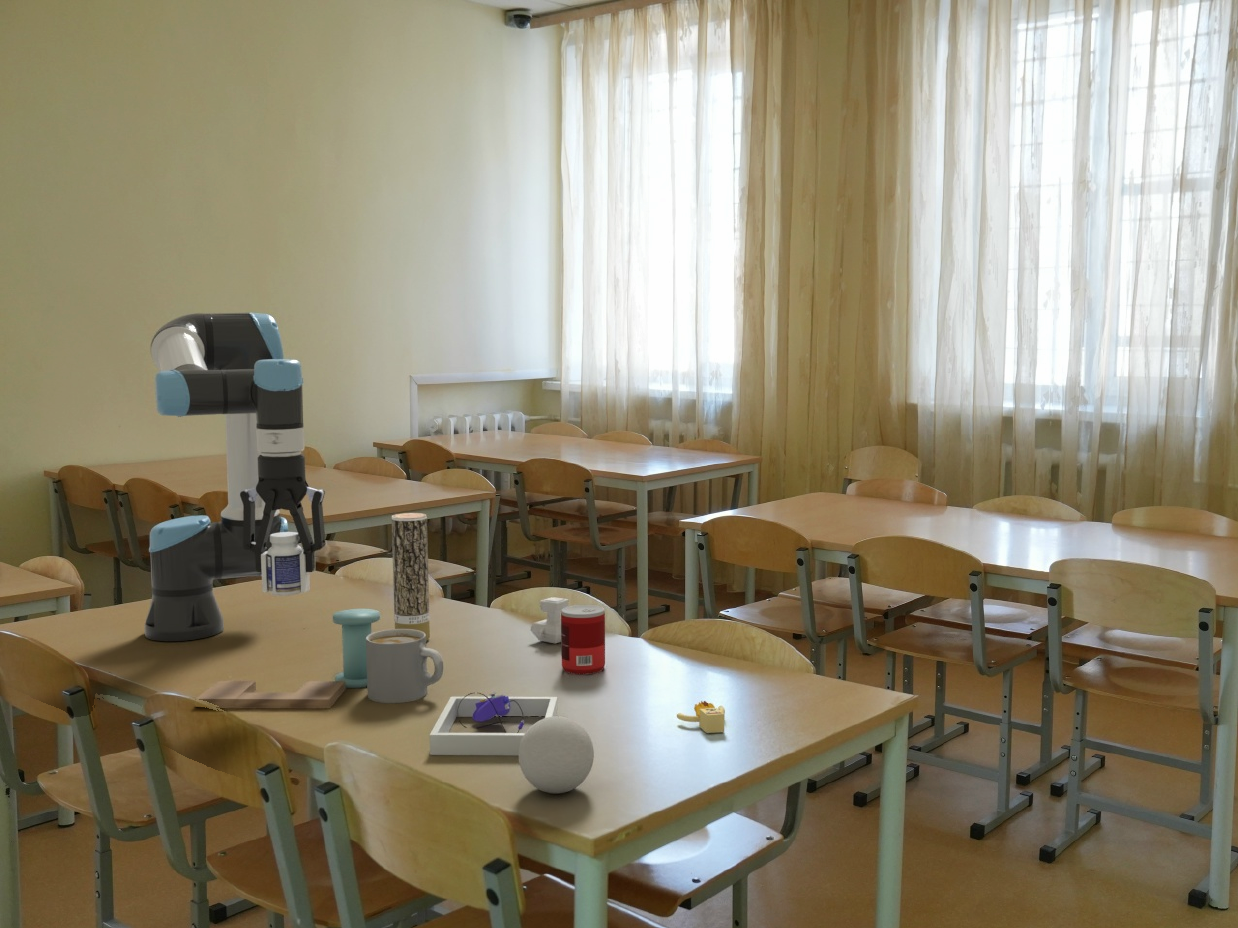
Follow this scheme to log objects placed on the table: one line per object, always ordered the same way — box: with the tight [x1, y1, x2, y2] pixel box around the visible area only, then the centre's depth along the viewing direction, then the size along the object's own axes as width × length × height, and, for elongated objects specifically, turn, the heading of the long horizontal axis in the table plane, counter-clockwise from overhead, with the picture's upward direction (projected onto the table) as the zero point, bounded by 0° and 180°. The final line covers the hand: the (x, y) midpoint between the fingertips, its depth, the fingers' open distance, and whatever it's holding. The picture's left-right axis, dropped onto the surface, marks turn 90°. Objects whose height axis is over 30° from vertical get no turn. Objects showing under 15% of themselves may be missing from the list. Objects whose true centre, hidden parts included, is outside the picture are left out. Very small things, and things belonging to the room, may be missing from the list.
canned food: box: [560, 604, 606, 675], centre depth 216 cm, size 8×8×11 cm
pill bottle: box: [267, 531, 304, 597], centre depth 199 cm, size 6×6×10 cm
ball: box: [518, 715, 595, 794], centre depth 159 cm, size 10×10×10 cm
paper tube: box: [391, 512, 431, 642], centre depth 235 cm, size 7×7×25 cm
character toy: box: [676, 700, 726, 734], centre depth 185 cm, size 8×3×8 cm
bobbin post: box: [332, 608, 381, 689], centre depth 209 cm, size 8×8×12 cm
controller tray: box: [429, 696, 559, 756], centre depth 182 cm, size 17×18×3 cm
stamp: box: [530, 596, 570, 644], centre depth 235 cm, size 9×7×8 cm
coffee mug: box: [366, 628, 444, 704], centre depth 201 cm, size 13×10×10 cm
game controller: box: [457, 692, 525, 733], centre depth 184 cm, size 10×8×10 cm
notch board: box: [195, 680, 346, 709], centre depth 200 cm, size 22×10×2 cm, turn 88°
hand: (286, 590), depth 200 cm, fingers closed on pill bottle, 6 cm apart
